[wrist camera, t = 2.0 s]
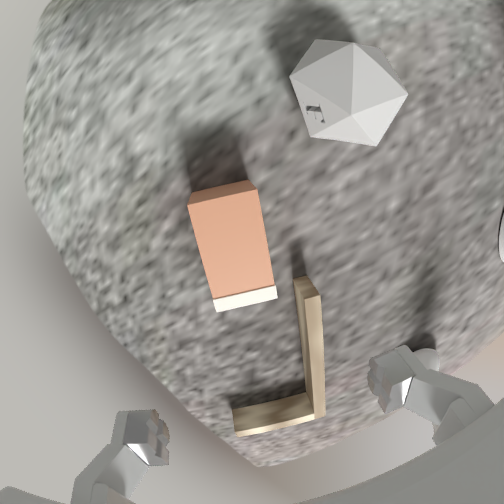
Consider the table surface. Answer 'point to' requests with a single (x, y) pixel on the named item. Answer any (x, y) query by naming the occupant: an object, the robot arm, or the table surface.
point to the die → (347, 91)
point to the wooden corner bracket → (313, 362)
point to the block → (233, 244)
